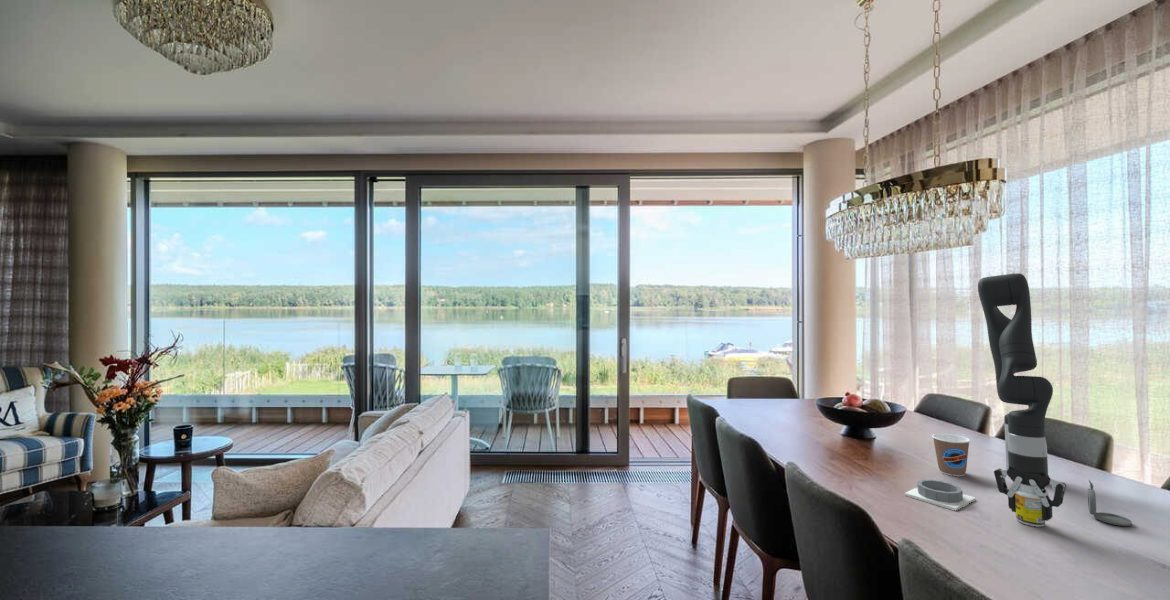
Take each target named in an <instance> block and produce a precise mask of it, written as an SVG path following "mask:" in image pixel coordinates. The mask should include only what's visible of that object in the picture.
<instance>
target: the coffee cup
mask: <svg viewBox="0 0 1170 600" xmlns="http://www.w3.org/2000/svg"><path fill="white" fill-rule="evenodd" d="M931 437H932V439H933V444H934V449H935V454H936V455H935V456H936V461H937V466H938V470H939V472H940V473H942V474H945V475H947V476H952V475H953V476H954V477H963V476H965V475H966V473H967V468H968V466H967V465H968V457H969V447H970V442H971V439H970V438H968V437H966V436H962V435H957V434H951V433H949V434H948V433H934V434H932V436H931ZM953 476H952V477H953Z"/></svg>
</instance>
